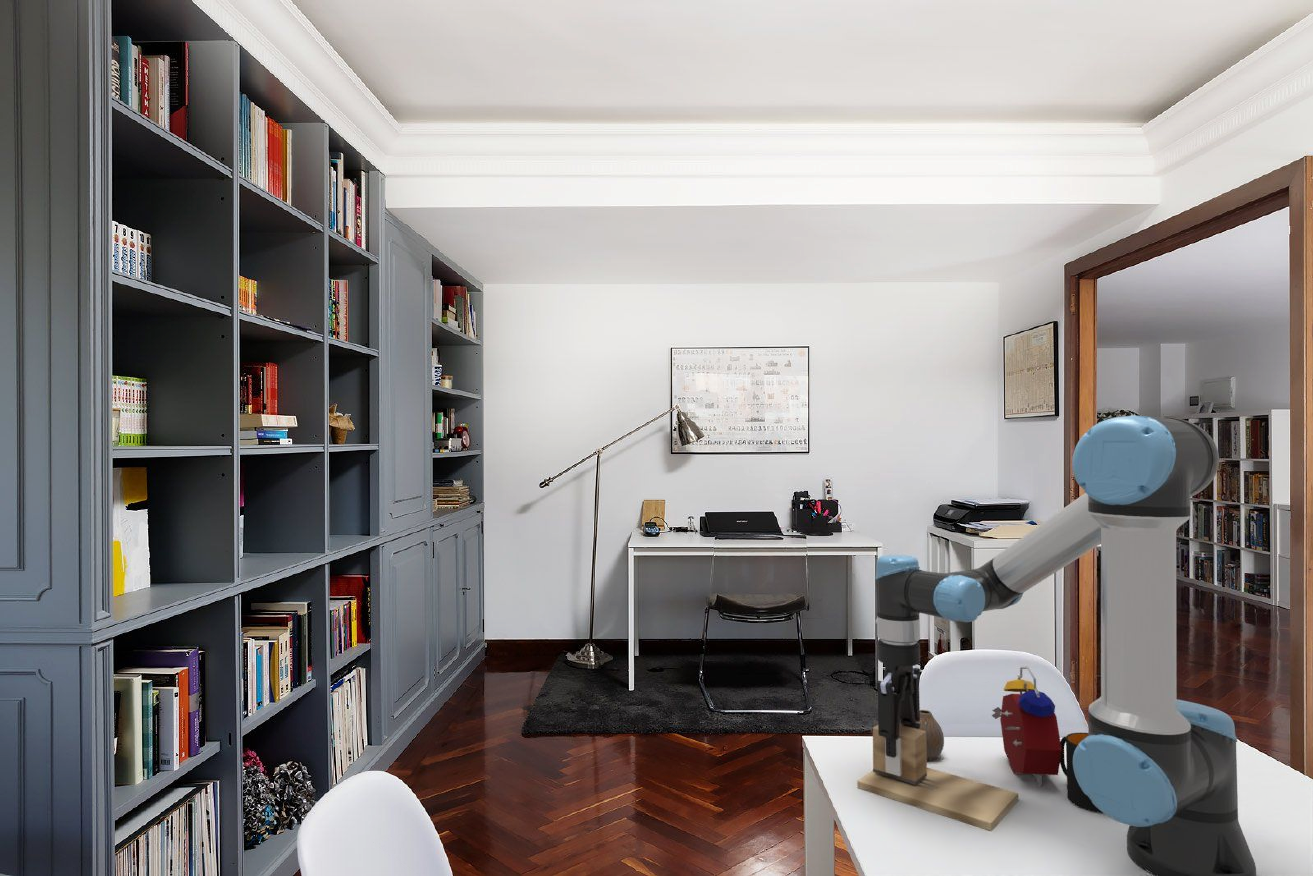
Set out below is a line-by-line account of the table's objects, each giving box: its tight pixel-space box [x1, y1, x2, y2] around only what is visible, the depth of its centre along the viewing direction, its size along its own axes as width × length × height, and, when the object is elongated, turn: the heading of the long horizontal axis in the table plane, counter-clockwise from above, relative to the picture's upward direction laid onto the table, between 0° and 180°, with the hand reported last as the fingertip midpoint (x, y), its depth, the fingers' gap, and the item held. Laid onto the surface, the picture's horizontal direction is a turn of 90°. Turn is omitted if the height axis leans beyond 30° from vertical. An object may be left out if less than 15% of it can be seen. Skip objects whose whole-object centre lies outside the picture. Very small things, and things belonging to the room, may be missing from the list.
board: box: [856, 767, 1019, 832], centre depth 128 cm, size 23×14×1 cm, turn 47°
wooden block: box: [872, 724, 928, 785], centre depth 133 cm, size 8×5×8 cm, turn 48°
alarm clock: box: [991, 666, 1062, 787], centre depth 136 cm, size 15×9×20 cm, turn 171°
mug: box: [1059, 732, 1105, 815], centre depth 126 cm, size 8×12×10 cm
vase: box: [915, 709, 945, 761], centre depth 144 cm, size 7×7×9 cm
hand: (900, 768), depth 132 cm, fingers closed on wooden block, 5 cm apart
